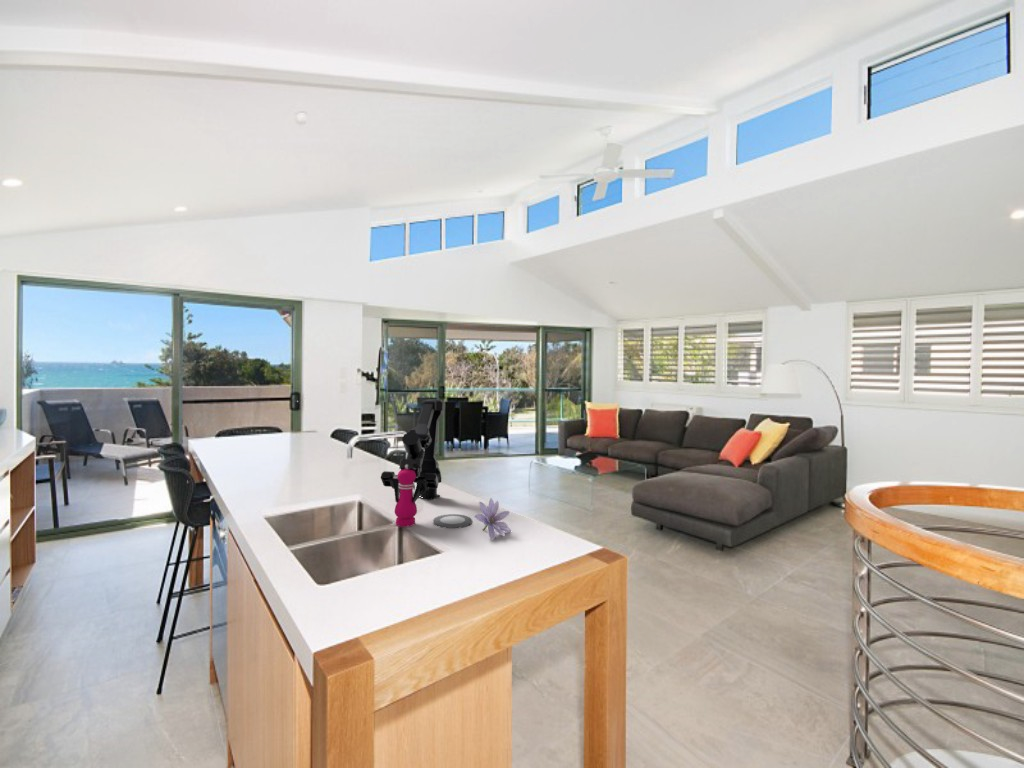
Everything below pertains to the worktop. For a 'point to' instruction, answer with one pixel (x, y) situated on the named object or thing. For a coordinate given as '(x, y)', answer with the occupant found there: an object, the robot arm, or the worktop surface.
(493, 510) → the water lily
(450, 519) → the mat
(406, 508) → the pepper mill
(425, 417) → the robot arm
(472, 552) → the worktop surface
